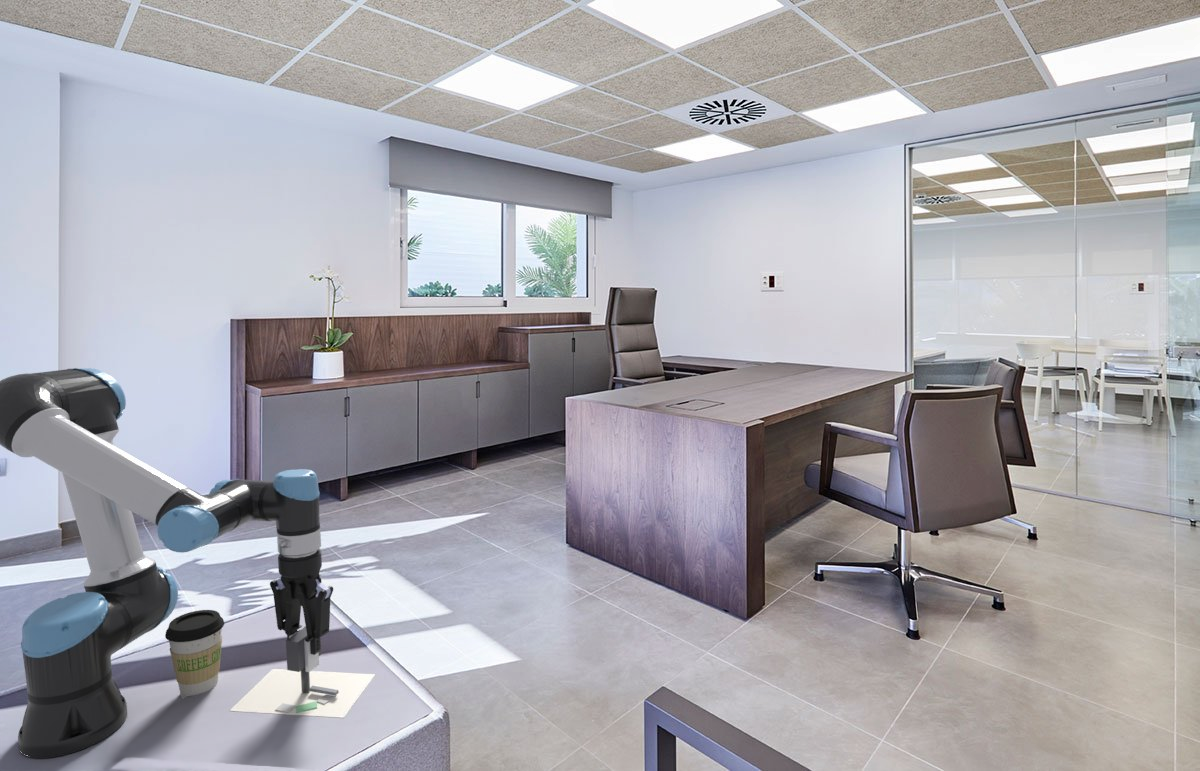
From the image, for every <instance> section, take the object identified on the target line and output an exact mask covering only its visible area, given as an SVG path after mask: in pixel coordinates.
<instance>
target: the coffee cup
mask: <svg viewBox="0 0 1200 771" xmlns="http://www.w3.org/2000/svg"><path fill="white" fill-rule="evenodd" d="M224 626H225V621H224V618H223V617H222V616H221V614H220V613H219V611H217V610H214V609H201V610H194V611H190V612H187V613H186V612H185V613H183V614H181V615H178V616H176V617H175V618H174V619H172V620H171V621H170V622H169V624H168V627H167V629H166V631H165V635H164V636H165V639H166V640H168V643H169V651H170V656H171V662H172V666H173V669H174V674H175V679H176V682H177V685H178V687H179V688H178V689H179V693H180V698H181V699H182V700H185V698H187V697H189V696H197V695H202V694H205V693H207V692H208V691H211V690H212V689H214V688H215V687H216V686H217V685H218V682H219V672H220V668H221V654H222V642H223V636H222V629H223V628H224Z"/></svg>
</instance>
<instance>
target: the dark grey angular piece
mask: <svg viewBox="0 0 1200 771" xmlns="http://www.w3.org/2000/svg"><path fill="white" fill-rule="evenodd" d="M299 630H300V631H299ZM299 630H298V631H299V632H297V633H296V634H294V635H293V636H291V637H290V638H289V639H287V638H286V640H285V648H286V649H285V650H286V651H285V652H286V670H290V671H296V672H300V671H301V688H302V693H307V692H309V691H312V692H318V693H323V694H329V695H335V696H336V695H337V694H338V693H339V692H338V690H335V689H329V688H323V687H318V686H311V687H310V677H309V672H306V669H305V647H304V640H305V638H307V631H306V626H304V627H303V628H300V629H299ZM321 640H322V639H321V638H320V645H321V646H322V643H321ZM321 655H322V649H321V650H320V652H319V657H320V656H321Z"/></svg>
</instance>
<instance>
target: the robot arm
mask: <svg viewBox="0 0 1200 771" xmlns="http://www.w3.org/2000/svg"><path fill="white" fill-rule="evenodd" d="M126 402H127V400H126V395H125V392H124V390H123V388H122V386H121V385H120V383H119V382H118V381H117V380H116V378H114V377H113V376H112V375H109V374H108V373H106V372H105V371H103V370H100V369H96V368H91V367H90V368H85V367H84V368H78V367H75V368H66V369H59V370H51V371H41V372H33V373H32V372H31V373H21V374H15V375H11V376H7V377H6V378H2V379H1V380H0V446H1V447H3V448H4V449H6V450H7V451H9V452H11V453H13V454H15V455H16V456H18V457H22V458H32V457H34V458H36V459H37V460H39V461H40V462H43V463H45V464H46V465H48V466H50V467H52V468H53V469H55V470H57V471H59V472H61V473H62V477H63V480H64V485H65V486H66V490H67V493H68V498H69V502H70V503H71V504H70V505H71V508H72V511H73V515H74V518H75V522H76V526H77V528H78V533H79V535H80V540H81V543H82V547H83V549H84V553H85V556H86V559H87V564H88V567H89V570H90V572H89V574H88V576H87V577H86V579H85V580H84V582H83V584H82V585H83V588H84V590H85V591H82V592H76V593H71V594H68V595H67V596H65V597H62V598H61V597H58V598H56V599H52V600H51V601H49V602H47V603H45V604H43V605H42V606H40V607H38V608H36V609H35V610H34V611H32V612H31V613H30V614H29V615H28V616H27V618H26V619H25V620H24V622H23V624H22V627H21V628H22V629H21V637H22V638H21V642H20V648H21V652H22V657H23V664H24V665H23V666H24V675H25V681H26V691H27V692H26V693H27V705H26V708H25V711H24V716H23V719H22V724H21V727H20V728H19V731H18V734H17V744H18V750H20V751H21V752H22V753H23V754H25V755H28V756H30V757H29V758H31V757H37V758H36V759H48V758H56V757H61V756H65V755H69V754H73V753H77V752H79V751H81V750H84V749H86V748H88V747H91V746H93V745H95V744H98V743H99V742H101V741H103V740H104V739H106V738H108V737H109V736H111V735H112V734H114V733H115V732H116V731H117V730H118V729H119V728H121V727H122V725H123V724H124V723H125V721H126V720H127V717H128V705H127V704H128V703H127V701H126V699H125V697H124V695H122V693H121V690H120V688H119V687H118V685H117V683H116V681H115V680H114V678H113V668H112V655H113V654H116V652H118V651H120V650H122V649H123V648H125V647H126V646H128V645H129V644H131V643H132V642H134V641H136V640H137V639H139V638H141V637H143V636H144V635H145V634H147V633H149V632H151V631H152V630H154V629H156V628H157V627H158V626H160V624H161V623H163V622H164V621H166V620H167V619H168V618H169V617H170V616H171V615H172V613H173V611H175V608H176V606H177V604H178V599H179V589H178V584H177V582H176V579H175V578H174V576H173V575H172V574H169V573H167V572H168V571H167V570H166V569H164V568H162V567H160V566H157V562H156V560H155V559H153V558H151V557H148V556H146V555H145V554H144V551H143V546H142V543H141V539H140V535H139V532H138V529H137V526H136V522H135V518H134V515H133V513H134V514H136V515H137V516H139V517H140V518H142V519H145V520H146V521H148V522H150V523H151V524H154V525H155V526H157V528H156V533H157V536H158V539H159V540H160V541H161V542H162V543H163V546H164V547H165V548H166V549H168V550H170V551H172V552H175V553H189V552H191V551H194V550H196V549H198V548H202V547H204V546H207V545H209V544H211V543H212V542H213V541H215V540H217V539H218V538H219V537H222V536H223V535H225V534H227V533H229V532H232V531H233V530H235V529H237V528H239V527H241V526H243V525H244V524H247V523H248V522H253V521H256V522H275V524H276V528H275V529H276V540H277V541H276V542H277V543H276V544H277V553H279V554H278V555H277V564H278V565H277V566H278V567H277V568H278V574H279V575H280V576H279V577H278V578H276V579H274V580H272V581H269V586H270V589H271V591H272V594H273V595H272V596H273V600H274V610H275V618H276V626H277V629H278V630H279V631H284V633H285V635H286V640H287V639H289V638H290V637H291V636H293V635H294V634H296V633H297V632H299V631H300V630H301V629H302V627H303V625H302V624H301V622H300V621H301V612H302V611H303V612H302V613H303V618H304V624H305V627H306V631H307V638H305V640H304V647H305V669H306V672H310V671H314V669H315V668H317V667H318V666H320V656H319V652H320V650H321V651H322V644H321V645H320V639H321V638H322V637H323V636H326V635H327V634H328V633H329V632H330V622H331V620H330V619H331V598H332V594H333V593H334V587H333V586H332V585H329V586H326V585H324V584H323V582H322V578H321V575H320V571H321V570H322V569H321V568H322V565H323V564H322V562H323V561H322V550H321V547H322V538H321V535H322V534H321V522H320V495H321V493H320V492H321V491H320V489H319V480H318V475H317V473H316V472H315V471H314V470H312V469H305V468H298V469H287V470H283V471H280V472H278V473H276V474H275V476H273V477H274V478H273V480H271V481H270V480H256V479H254V480H253V479H244V478H243V479H241V478H235V479H224V480H223V479H222V480H220V481H218V482H217V483H215V485H214V486H213V488H211V490H210V491H209V494H207V495H203V494H200V493H199V492H197V491H196V490H193V489H191V488H190V487H188V486H186V485H184V484H183V483H181V482H179V481H177V480H175V479H174V478H172V477H170V476H168V475H167V474H165V473H163V472H161V471H159V470H158V469H156V468H155V467H153V466H151V465H149V464H148V463H146V462H144V461H142V460H140V459H138V458H137V457H135V456H133V455H131V454H129V453H128V452H127V451H125V450H123V449H120V447H117V446H115V445H114V443H113V441H114V438H115V437H116V435H117V434H118V433H119V432H120V429H119V426H118V425H119V424H118V420H119V419H120V418H121V416H123V414H124V410H125V409H126V406H127V404H126ZM301 610H302V611H301ZM20 751H19V752H20ZM21 752H20V753H21ZM23 754H22V755H23Z"/></svg>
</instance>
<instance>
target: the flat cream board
mask: <svg viewBox="0 0 1200 771" xmlns="http://www.w3.org/2000/svg"><path fill="white" fill-rule="evenodd" d="M375 676H376V674H375V673H373V674H372V673H356V672H355V673H353V672H340V671H339V672H338V671H337V672H335V671H320V670H319V671H318V670H317V671H316V670H311V671H310V672H309V677H310V687H311V686H318V687H323V688H329V689H335V690H338V692H339V693H338V694H337V695H336V696H335V695H329V694H323V693H318V692H312V691H309V692H307V693H302V688H301V671H300V672H296V671H290V670H287V669H284V668H283V669H282V668H281V669H280V668H272V669H271V670H270V671H269V672H267V674H266V675H265V676H264V677H262V678H261V679H260V680H259V681H258V682H257V683H256V684H255V685H254V686H253V687H252V688H251V689H250V690H249V691H248V692H247V693H246V694H245V695H244V696H242V698H241V699H240V700H239V701H238V702H237V703H236V704H235V705H233V707H231V709H230V710H229V712H238V713H239V712H240V713H253V714H257V713H258V714H272V715H275V714H276V715H288V716H289V715H291V716H292V715H293V716H308V717H324V718H340V719H344V717H345V716H346V715H347V714H348V712H349V711H350V710H351V708H353V706H354V704H355V703H356V702H357V701H358V699H359V697H360V696H361V695H362V693H363V692H364V691H365V689H366V688H367V686H368V685H369V684H370V683H371V681H372V680H373V679H374V677H375Z"/></svg>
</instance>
